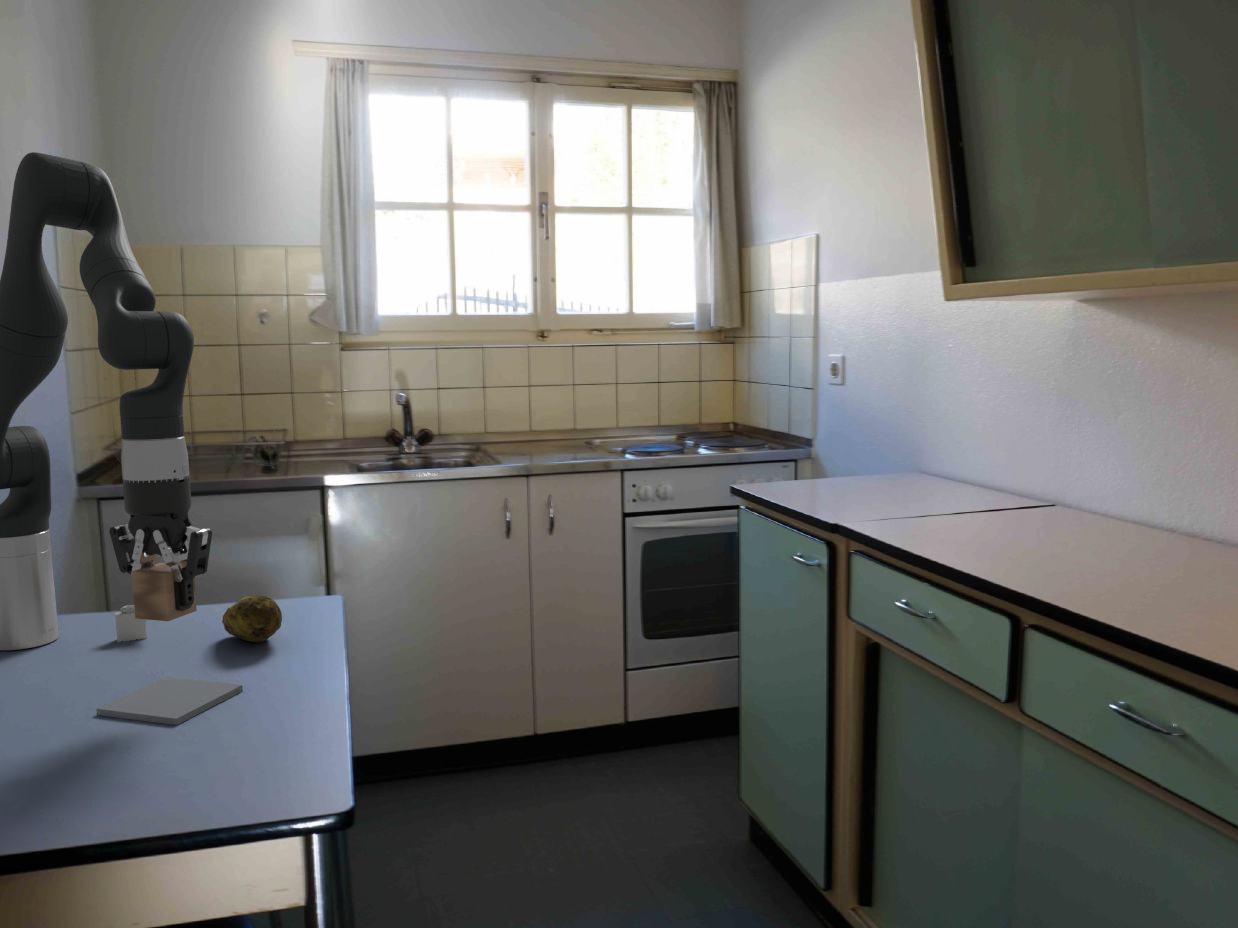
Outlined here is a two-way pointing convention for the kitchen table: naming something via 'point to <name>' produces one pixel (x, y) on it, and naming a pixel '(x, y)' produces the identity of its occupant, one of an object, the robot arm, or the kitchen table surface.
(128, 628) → the lighter
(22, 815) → the kitchen table surface
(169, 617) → the block
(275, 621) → the potato
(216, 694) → the coaster
